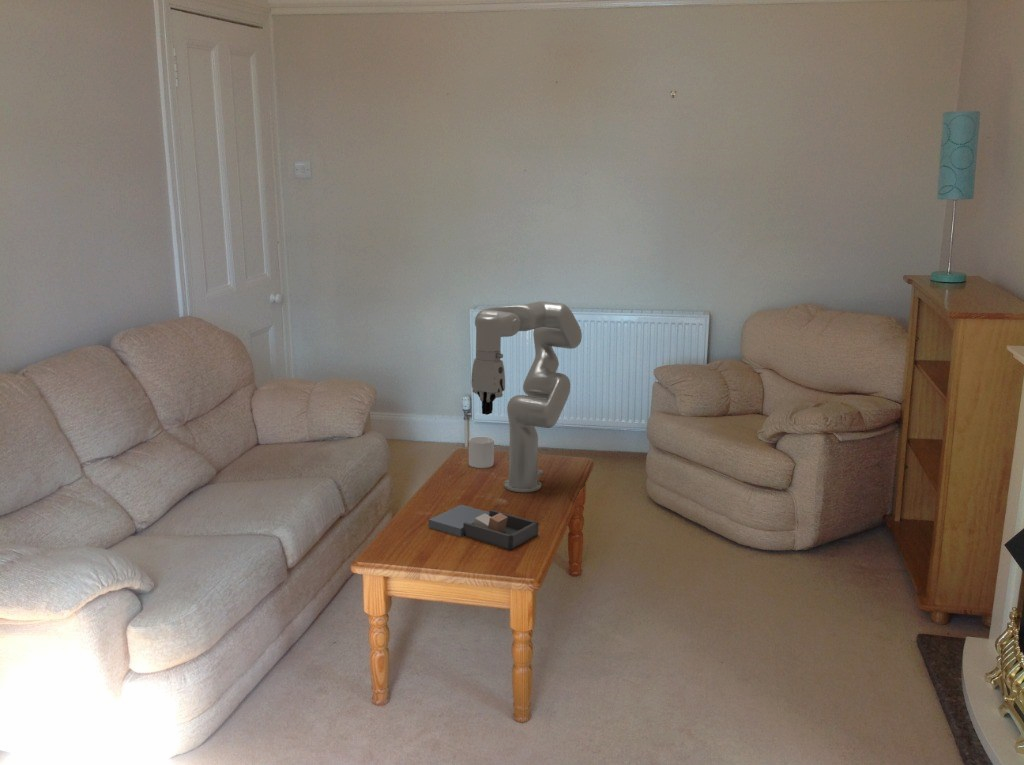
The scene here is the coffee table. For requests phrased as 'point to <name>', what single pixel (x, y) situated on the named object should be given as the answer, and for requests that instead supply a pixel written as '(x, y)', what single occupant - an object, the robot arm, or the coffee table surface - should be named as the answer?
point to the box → (511, 538)
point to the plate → (455, 519)
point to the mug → (481, 452)
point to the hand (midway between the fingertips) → (487, 413)
